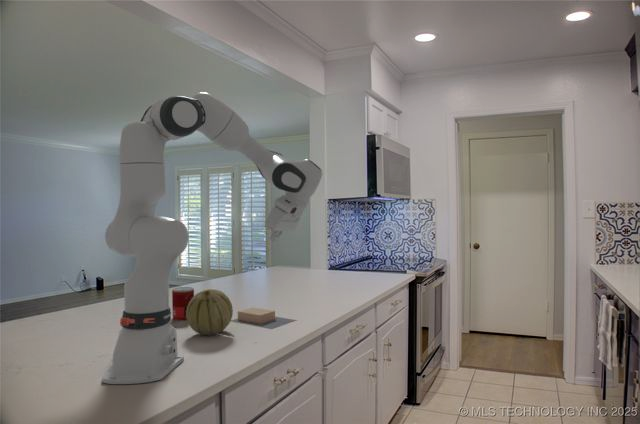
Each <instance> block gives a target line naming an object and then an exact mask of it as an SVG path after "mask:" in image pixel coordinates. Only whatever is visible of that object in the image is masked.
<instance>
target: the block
mask: <svg viewBox="0 0 640 424" xmlns="http://www.w3.org/2000/svg"><path fill="white" fill-rule="evenodd" d="M275 317H276V310H271V309H265V308H259V307H254V306H253V307H252V306H251V307H249V308H246V309H241V310H238V311H237V319H238V320H242V321H248V322H253V323H258V324H262V323H265V322H268V321H271V320H274V319H275Z"/></svg>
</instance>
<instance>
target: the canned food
mask: <svg viewBox="0 0 640 424" xmlns="http://www.w3.org/2000/svg"><path fill="white" fill-rule="evenodd" d="M171 293H172V294H171V295H172V296H171V298H172V299H171V301H172V302H171V306H172V308H171V309H172V312H171V313H172V319H174V320H175V321H176V320H177V321H186V320H187V318H186V309H187V306H188V304H189V302H190V300H191V299H192V298H193V297H194V296H195V288H194V287H192V286H191V287H190V286H180V287H179V286H178V287H174V288H172V290H171Z"/></svg>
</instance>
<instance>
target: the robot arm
mask: <svg viewBox="0 0 640 424" xmlns="http://www.w3.org/2000/svg"><path fill="white" fill-rule="evenodd" d="M196 131H197V132H200V133H201V134H203V135H204V136H205V137H206V138H207V139H209V140H210V141H211V142H213V143H214V144H216V145H218V146H219V147H221V148H223V149H224V150H227V151H230V152H231V151H237V152H239V153H241V154H242V155H243V156H244V157H246V158H247V159H249V161H251V162H252V163H254V164H255V166H256V168H257V171H259V174H260V175H261V177H263V179H265V180H267V181H268V182H269V183H270V184H271V185H272V186H274V187H275V188H276V189H278V190H281V191H284V193H283V194H281V196H280V197H278V198H275V200H274V201H273V205H274V206H272V208H271V210H270V211H269V213H268V214H267V215H268V216H267V217H266V219H265V223H264V227H266V228H267V229H269V230H270V231H271V235H270V236H269V240H270V241H272V242H277V241H278V239H280V237H281V236H282V235H283V234H284V232H287V231H289V232H292V231H294V230H295V229H296V228H297V225H298V224H299V221H300V219H301V217H302V215H303V214H304V212H305V210H306V208H307V206H308V205H309V202H310V200H311V199H310V198H311V197H312V196H313V195H314V194H315V193H316V190H317V188H318V187H319V185H320V183H321V180H322V178H323V177H322V176H323V171H322V168H321V167H320V166H318V165H317V164H316V163H314V162H313V161H312V160H310V159H307V158H305V159H302V160H291V159H287V158H286V157H285V156H284V155H283V154H281V153H280V152H277V151H274V150H269V149H267V148H266V147H264V146H263V145H262V144H261V143H260V142H258V141H257V139H255V138H254V137H253V136H252V135H251V133H250V129H249V125H248V124H247V123H246V121H244V119H243V118H242V117H241V116H240V115H239V114H238V113H237V112H236V111H234V110H233V109H232V108H231V107H230V106H228V105H227V104H226V103H224V102H223V101H221V100H220V99H218V98H216V97H215V96H213V95H211V94H210V93H209V92H204V91H202V92H201V91H200V92H197V93H195V94H193V95H192V96H190V97H187V96H183V95H173V96H169V97H168V98H163V99H161V100H159V101H157V102H155V103H154V104H151V106H149V107H148V108H146V110H145V112H144V114H143V115H142V117H141V119H140V121H133V122H130V123H128V124H127V125H125V126H123V128H122V130H121V134H120V143H119V159H118V160H119V176H120V178H119V179H120V196H119V201H118V207H117V209H116V214H115V216H114V218H113V220H112V221H111V222H110V223H108V224H109V225H108V226H107V227H106V231H105V233H104V237H105V238H104V239H105V243H106V246H107V247H108V248H109V249H110V250H111V251H113V252H115V253H117V254H119V255H122V256H124V257H132V258H133V257H136V263H135V266H134V269H133V271H132V273H131V274H130V275H128V277H127V278H126V279H125V281H124V284H123V285H124V287H123V289H124V290H123V292H124V294H123V295H124V309H123V310H122V315H121V318H120V320H119V323H120V326H121V327H122V328H121V329H120V330H119V332H118V336H117V340H116V342H115V347H114V350H113V354H112V358H111V359H110V360H109V363H108V364H107V367H106V370H105V372H104V373H103V375H102V378H101V382H102V383H103V384H111V385H135V384H143V383H152V382H157V381H161V380H162V379H164V378H165V377H166V376H167V375H168V374H169V373H171V372H172V371H173V370H174V369H176V367H178V366H179V365H180V364H181V363H182V362H184V360H185V357H184V355H182V354H179V352H178V335H177V328H175V327H174V326H173V325H172V324H171V316H172V312H171V307H170V306H169V305H170V304H169V303H170V301H169V296H170V295H169V294H170V278H171V275H172V274H171V273H172V271H173V268H174V265H175V263H176V260H177V259H178V258H179V256H180V255H181V254H183V253H184V251H185V250H186V249H187V246H188V244H189V239H190V238H189V237H190V236H189V232H188V229H187V226H186V225H185V223H183V221H180V220H178V219H176V218H171V217H168V216H155V211H156V207H157V204H158V203H159V201H160V200H161V199H162V198H163V197H164V196H165V194H166V190H167V189H166V170H165V169H166V167H165V155H164V152H165V147H166V143H167V142H169V141H176V140H180V139H183V138H185V137H188V136H190V135H192V134H193V133H195V132H196Z"/></svg>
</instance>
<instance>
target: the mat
mask: <svg viewBox="0 0 640 424" xmlns="http://www.w3.org/2000/svg"><path fill="white" fill-rule="evenodd" d="M296 321H297V320H296V319H291V318H287V317H279V316H275V319H274V320H271V321H268V322H265V323H262V324H258V323H253V322H248V321H242V320H238V318H234V319H231V321H230V323H238V324H243V325H246V326H247V325H249V326H253V327H258V328H263V329H270V330H274V329H276V328H279V327H282V326H285V325H287V324H290V323H294V322H296Z"/></svg>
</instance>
